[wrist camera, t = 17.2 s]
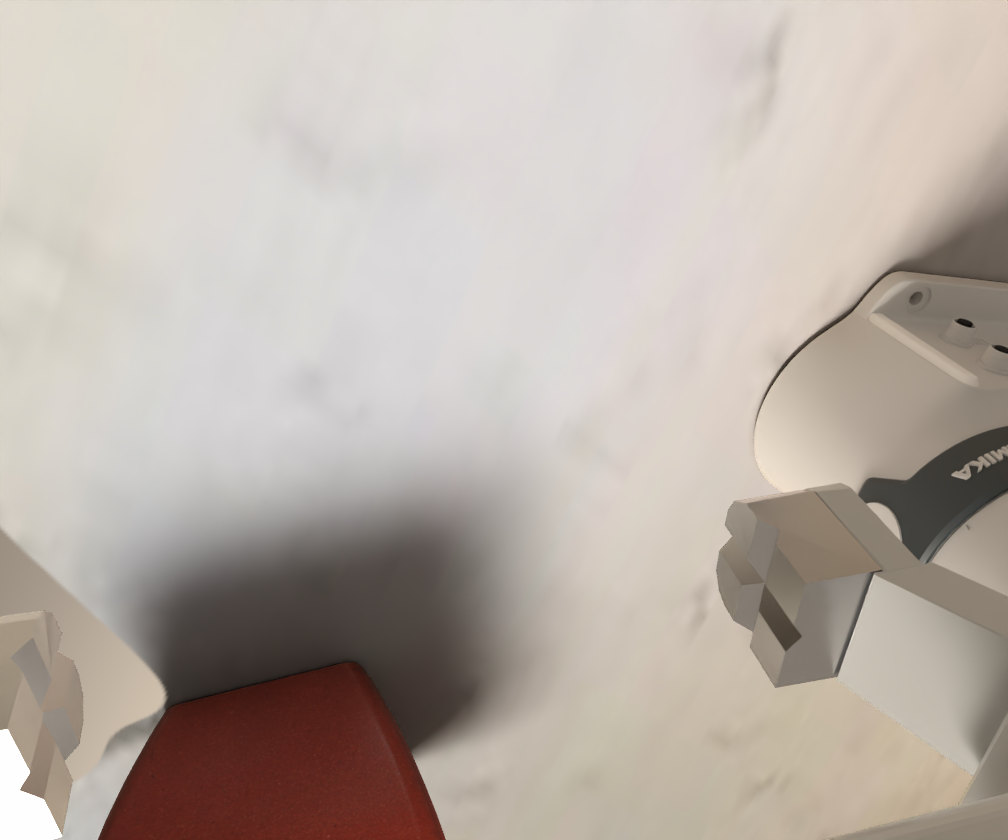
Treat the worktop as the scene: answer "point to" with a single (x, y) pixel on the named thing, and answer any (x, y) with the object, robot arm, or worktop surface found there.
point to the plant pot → (278, 767)
